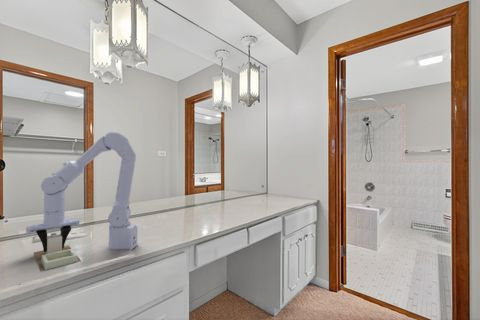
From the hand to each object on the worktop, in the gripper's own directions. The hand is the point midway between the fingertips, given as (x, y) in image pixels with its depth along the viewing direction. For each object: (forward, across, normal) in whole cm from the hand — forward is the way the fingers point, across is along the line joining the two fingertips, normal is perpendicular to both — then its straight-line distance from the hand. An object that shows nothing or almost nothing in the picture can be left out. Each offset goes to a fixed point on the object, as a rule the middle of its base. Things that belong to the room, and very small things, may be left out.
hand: (53, 249), depth 81 cm
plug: (+1, 0, 0) cm, 1 cm away
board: (+2, 0, +6) cm, 6 cm away
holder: (+2, 0, +11) cm, 11 cm away
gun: (+2, -5, -17) cm, 18 cm away
